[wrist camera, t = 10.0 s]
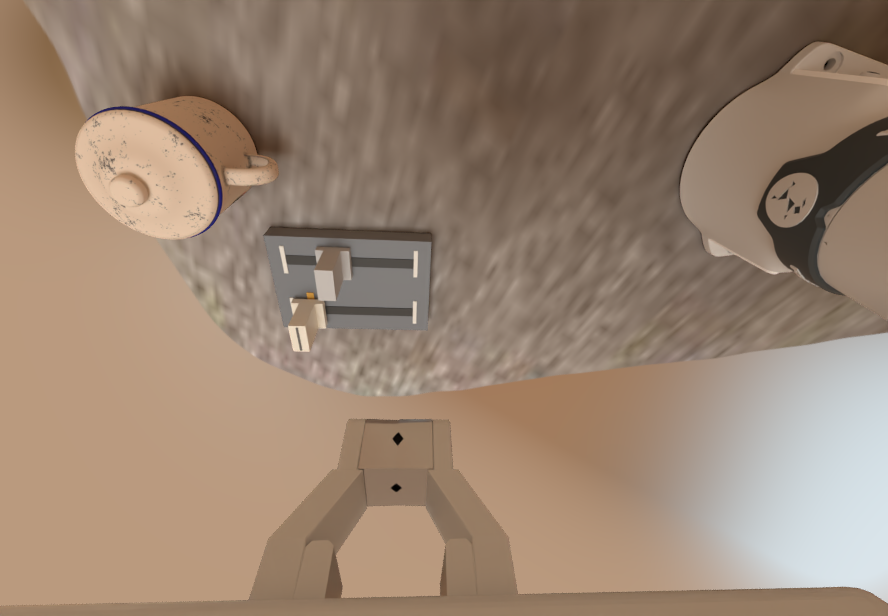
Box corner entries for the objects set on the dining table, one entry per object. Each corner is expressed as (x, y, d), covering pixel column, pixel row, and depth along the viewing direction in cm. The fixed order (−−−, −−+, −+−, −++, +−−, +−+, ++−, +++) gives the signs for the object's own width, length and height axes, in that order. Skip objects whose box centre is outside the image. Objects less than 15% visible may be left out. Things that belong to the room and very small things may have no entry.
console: (431, 233, 39) (432, 265, 34) (427, 319, 45) (427, 358, 40) (270, 227, 38) (244, 258, 33) (289, 316, 44) (269, 355, 39)
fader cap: (324, 299, 40) (313, 326, 37) (327, 323, 42) (317, 352, 38) (293, 298, 40) (278, 326, 36) (297, 323, 42) (285, 351, 38)
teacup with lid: (171, 198, 36) (81, 254, 27) (134, 87, 31) (4, 108, 21) (302, 205, 37) (259, 262, 27) (286, 98, 32) (227, 123, 22)
